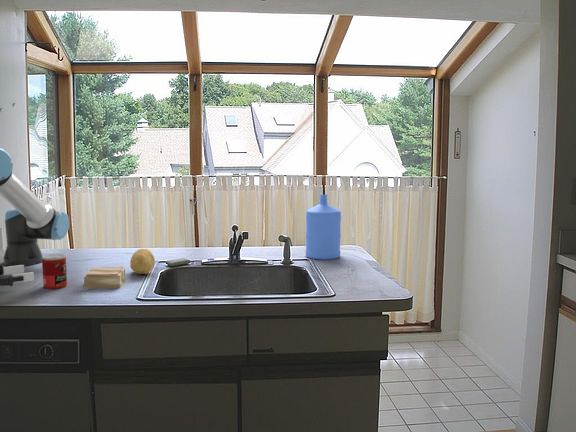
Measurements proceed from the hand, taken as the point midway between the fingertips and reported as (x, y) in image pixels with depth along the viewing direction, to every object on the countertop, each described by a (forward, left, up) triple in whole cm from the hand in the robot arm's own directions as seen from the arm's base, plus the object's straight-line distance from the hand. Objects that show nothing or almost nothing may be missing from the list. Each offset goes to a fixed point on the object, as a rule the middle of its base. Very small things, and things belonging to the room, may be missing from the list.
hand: (28, 272), depth 188 cm
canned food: (-4, +7, -7) cm, 11 cm away
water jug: (-43, +112, -7) cm, 121 cm away
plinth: (-5, +24, -6) cm, 26 cm away
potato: (-20, +35, -7) cm, 41 cm away
